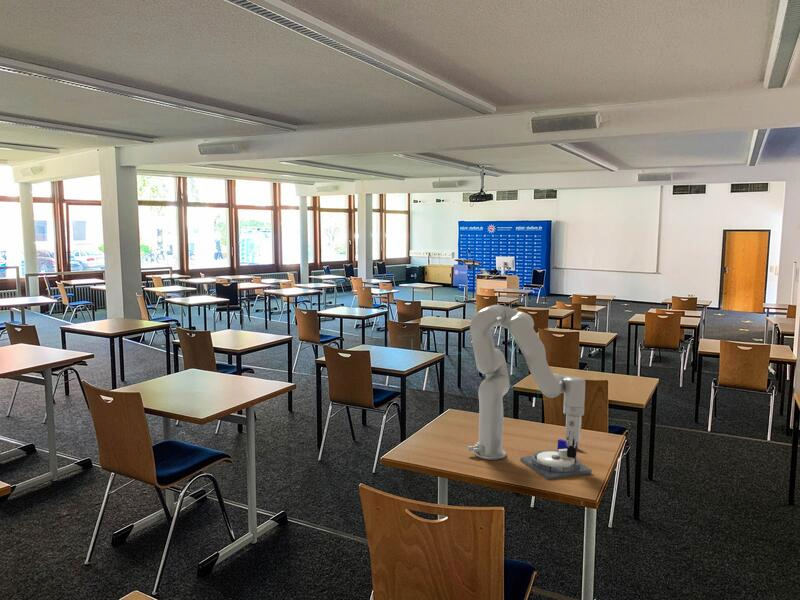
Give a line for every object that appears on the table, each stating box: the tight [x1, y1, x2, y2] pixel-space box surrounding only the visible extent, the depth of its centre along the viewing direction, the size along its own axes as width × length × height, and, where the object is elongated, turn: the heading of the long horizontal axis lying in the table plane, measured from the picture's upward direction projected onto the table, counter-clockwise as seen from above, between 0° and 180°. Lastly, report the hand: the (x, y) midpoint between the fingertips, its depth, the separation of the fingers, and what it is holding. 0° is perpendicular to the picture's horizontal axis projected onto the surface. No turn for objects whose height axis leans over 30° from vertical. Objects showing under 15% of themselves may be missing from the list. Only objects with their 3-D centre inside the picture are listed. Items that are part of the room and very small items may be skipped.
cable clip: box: [556, 438, 579, 451], centre depth 241 cm, size 12×4×6 cm, turn 138°
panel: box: [520, 449, 593, 480], centre depth 223 cm, size 19×19×4 cm
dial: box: [537, 448, 575, 467], centre depth 223 cm, size 14×14×5 cm
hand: (571, 456), depth 222 cm, fingers closed
